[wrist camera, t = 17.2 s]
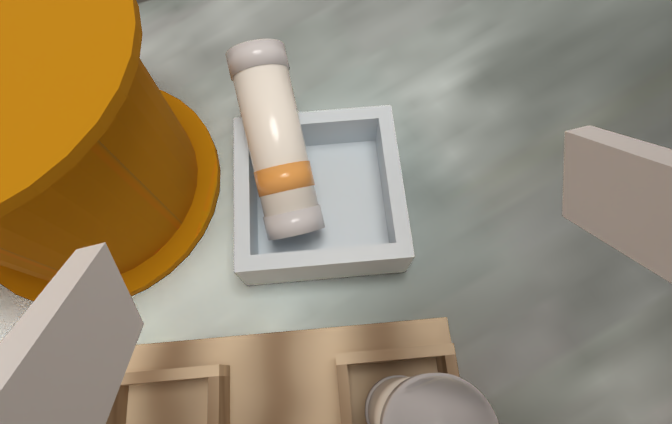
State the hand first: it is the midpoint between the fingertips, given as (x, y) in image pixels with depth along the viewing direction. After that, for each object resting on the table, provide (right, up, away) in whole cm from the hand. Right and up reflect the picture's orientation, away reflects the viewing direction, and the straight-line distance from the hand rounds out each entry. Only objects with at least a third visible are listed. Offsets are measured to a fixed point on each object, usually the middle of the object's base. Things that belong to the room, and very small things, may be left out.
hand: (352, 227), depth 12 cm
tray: (-2, +1, +20) cm, 20 cm away
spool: (-18, +2, +21) cm, 28 cm away
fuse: (+3, -11, +13) cm, 17 cm away
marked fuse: (-3, -1, +16) cm, 16 cm away
